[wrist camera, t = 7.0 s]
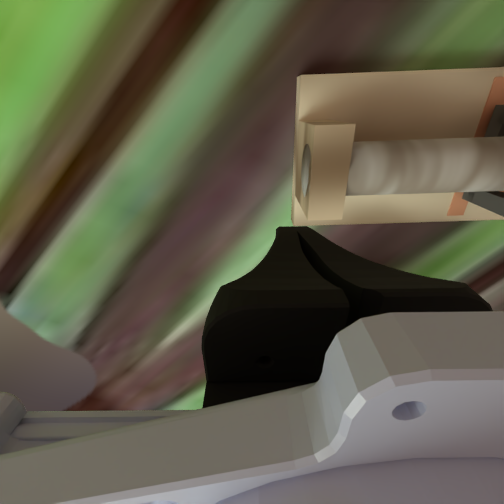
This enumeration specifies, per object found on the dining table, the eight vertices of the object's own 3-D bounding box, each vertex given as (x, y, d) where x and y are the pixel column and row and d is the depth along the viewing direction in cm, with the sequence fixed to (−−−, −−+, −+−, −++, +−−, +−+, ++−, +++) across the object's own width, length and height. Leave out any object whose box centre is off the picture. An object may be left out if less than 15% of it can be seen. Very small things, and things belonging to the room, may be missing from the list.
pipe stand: (506, 212, 22) (598, 249, 16) (291, 218, 22) (305, 258, 16) (574, 66, 17) (739, 45, 11) (297, 77, 17) (319, 62, 12)
